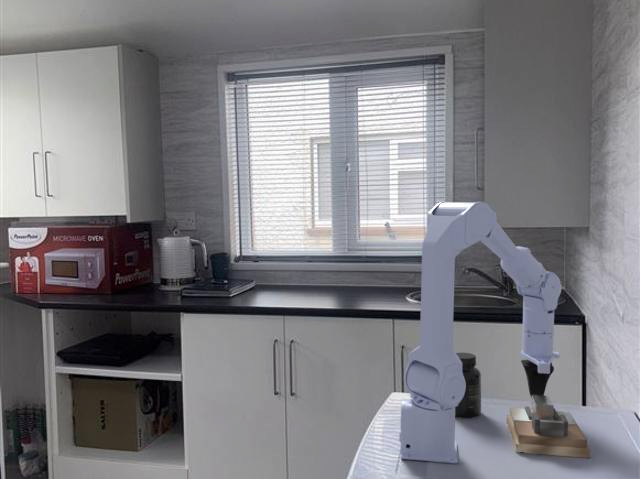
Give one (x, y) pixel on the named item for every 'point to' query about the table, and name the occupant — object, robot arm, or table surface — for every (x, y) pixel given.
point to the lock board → (547, 434)
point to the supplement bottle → (470, 388)
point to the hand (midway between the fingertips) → (536, 397)
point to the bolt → (542, 407)
